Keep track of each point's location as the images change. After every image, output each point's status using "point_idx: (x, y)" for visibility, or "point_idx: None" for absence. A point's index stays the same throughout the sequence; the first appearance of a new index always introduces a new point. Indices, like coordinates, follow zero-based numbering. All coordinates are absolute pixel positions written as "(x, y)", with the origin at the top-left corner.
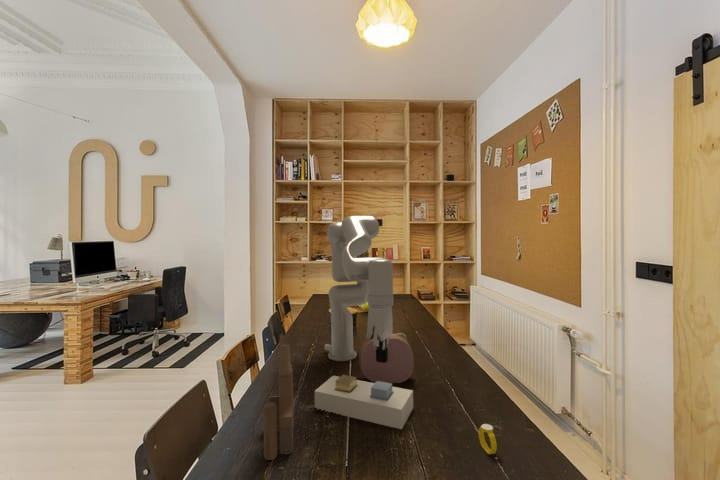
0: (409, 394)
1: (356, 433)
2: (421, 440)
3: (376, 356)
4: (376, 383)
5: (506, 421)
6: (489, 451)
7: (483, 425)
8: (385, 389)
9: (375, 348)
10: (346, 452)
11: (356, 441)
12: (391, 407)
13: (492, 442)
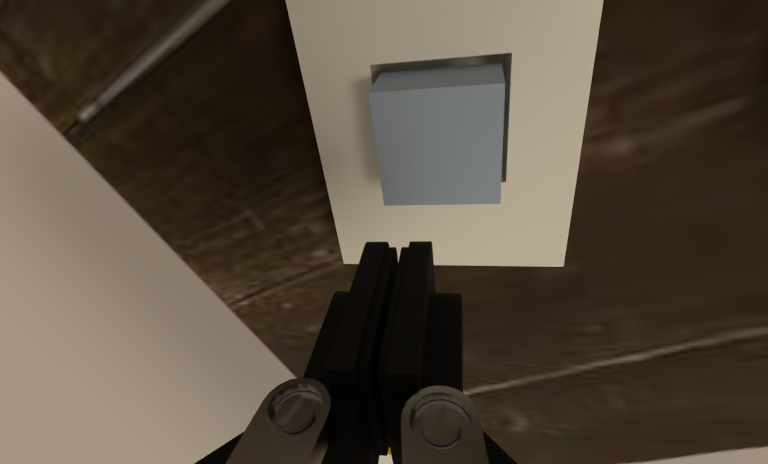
0: (507, 261)
1: (227, 55)
2: (343, 279)
3: (355, 282)
4: (457, 100)
5: (558, 442)
6: None
7: (389, 457)
8: (399, 191)
9: (276, 387)
10: (118, 83)
11: (189, 85)
12: (335, 221)
13: None
